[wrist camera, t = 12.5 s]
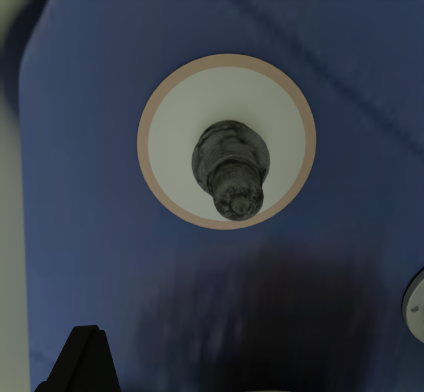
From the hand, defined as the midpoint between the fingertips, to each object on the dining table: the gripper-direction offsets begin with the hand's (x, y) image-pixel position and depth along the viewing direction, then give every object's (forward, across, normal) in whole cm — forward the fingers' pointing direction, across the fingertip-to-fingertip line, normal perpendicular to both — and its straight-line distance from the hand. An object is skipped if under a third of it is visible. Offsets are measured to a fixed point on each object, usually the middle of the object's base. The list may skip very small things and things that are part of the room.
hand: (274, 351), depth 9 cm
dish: (+22, 0, 0) cm, 22 cm away
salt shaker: (+21, 0, 0) cm, 21 cm away
